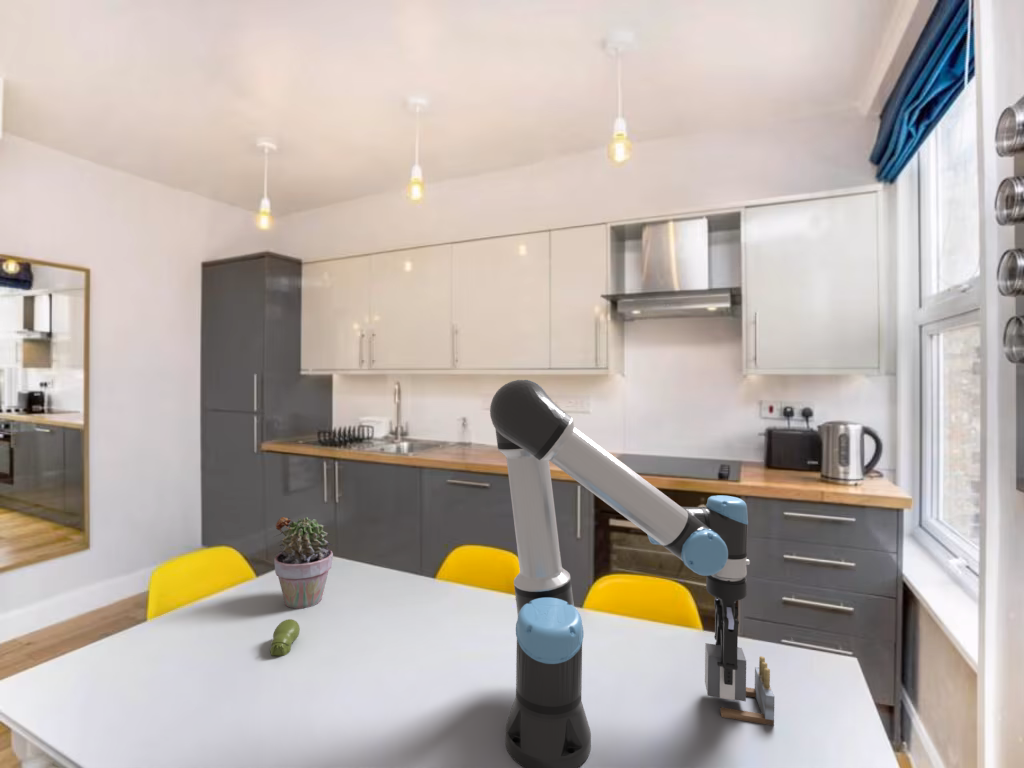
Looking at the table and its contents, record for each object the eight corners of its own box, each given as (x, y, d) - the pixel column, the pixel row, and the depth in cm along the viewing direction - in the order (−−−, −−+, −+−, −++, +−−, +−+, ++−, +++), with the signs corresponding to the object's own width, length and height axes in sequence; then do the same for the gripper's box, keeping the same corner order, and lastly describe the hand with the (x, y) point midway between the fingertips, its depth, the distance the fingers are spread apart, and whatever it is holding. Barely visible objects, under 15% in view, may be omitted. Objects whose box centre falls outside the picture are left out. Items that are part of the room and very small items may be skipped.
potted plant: (354, 595, 153) (355, 511, 153) (296, 621, 136) (297, 526, 136) (315, 582, 162) (316, 502, 162) (256, 604, 146) (257, 516, 146)
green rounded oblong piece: (302, 614, 128) (288, 641, 118) (303, 634, 129) (289, 662, 119) (279, 615, 127) (263, 642, 118) (280, 634, 128) (264, 662, 118)
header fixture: (773, 725, 97) (774, 678, 97) (721, 716, 100) (722, 670, 100) (762, 694, 107) (763, 651, 107) (714, 687, 109) (715, 644, 109)
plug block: (745, 701, 101) (746, 660, 101) (707, 695, 103) (708, 655, 103) (741, 686, 106) (741, 647, 106) (704, 681, 107) (705, 643, 107)
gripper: (755, 594, 94) (754, 721, 94) (738, 561, 112) (737, 668, 112) (712, 589, 96) (710, 714, 96) (701, 557, 114) (700, 663, 114)
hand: (724, 689), depth 104 cm, fingers closed on plug block, 5 cm apart
